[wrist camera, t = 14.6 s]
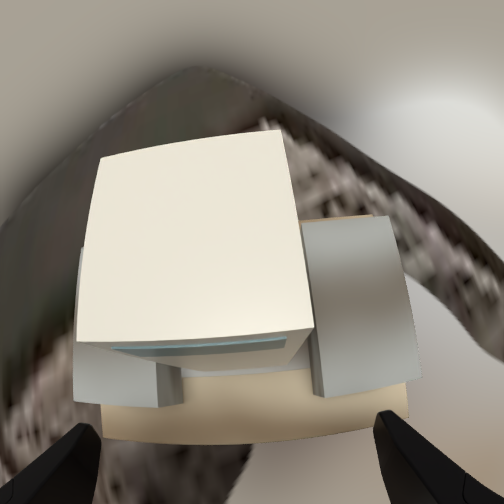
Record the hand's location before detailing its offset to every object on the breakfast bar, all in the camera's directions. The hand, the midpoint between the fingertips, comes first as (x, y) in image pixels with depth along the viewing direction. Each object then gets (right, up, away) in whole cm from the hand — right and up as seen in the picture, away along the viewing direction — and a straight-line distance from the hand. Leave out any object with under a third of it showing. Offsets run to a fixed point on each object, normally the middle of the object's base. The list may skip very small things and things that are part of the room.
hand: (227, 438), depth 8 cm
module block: (0, +1, +9) cm, 9 cm away
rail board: (0, +1, +10) cm, 10 cm away
